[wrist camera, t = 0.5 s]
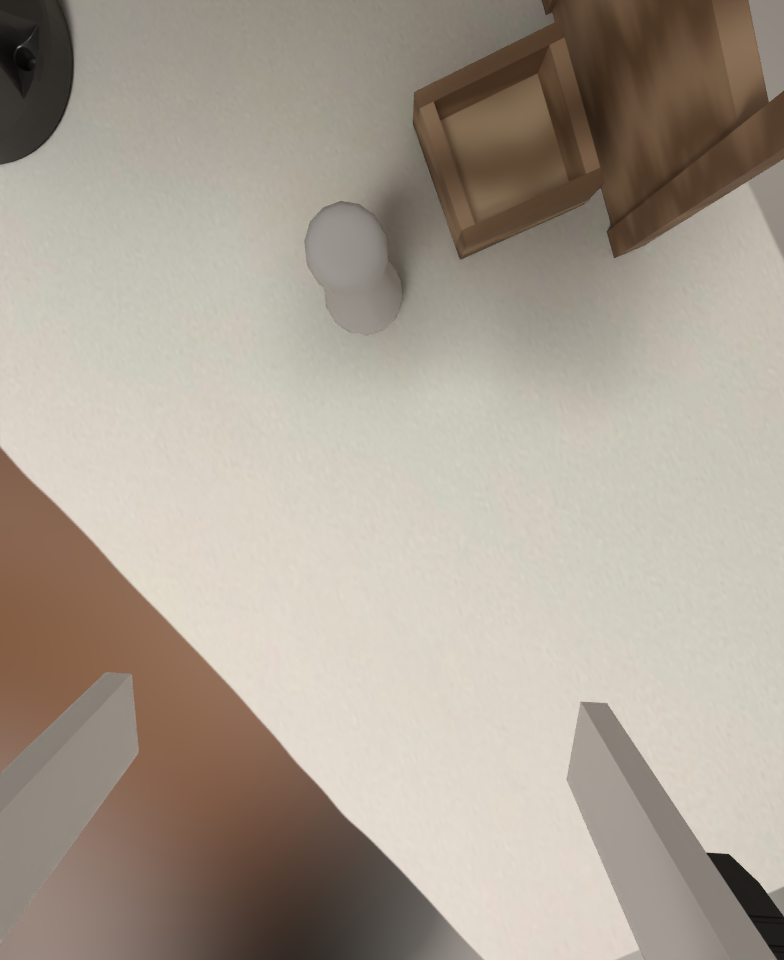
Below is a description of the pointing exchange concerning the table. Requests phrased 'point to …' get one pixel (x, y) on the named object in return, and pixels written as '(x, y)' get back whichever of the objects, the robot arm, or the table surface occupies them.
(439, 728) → the table surface
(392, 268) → the salt shaker
